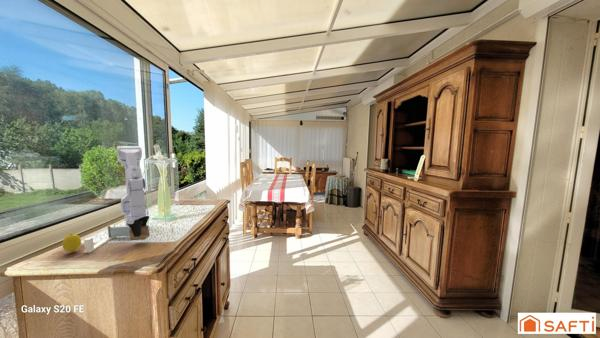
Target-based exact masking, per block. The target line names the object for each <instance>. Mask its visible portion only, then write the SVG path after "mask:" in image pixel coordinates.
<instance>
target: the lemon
mask: <svg viewBox="0 0 600 338" xmlns="http://www.w3.org/2000/svg"><path fill="white" fill-rule="evenodd" d="M61 245H62V249H63V250H64V251H66V252H68V253H69V252H70V253H75V252H76V251H77V250H78V249H80V247H81V246H82V240H81V237H80V235H78V234H74V233H70V234H68V235H66V236H65V237H64V238H63V239H62V243H61Z"/></svg>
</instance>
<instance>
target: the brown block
mask: <svg viewBox="0 0 600 338" xmlns="http://www.w3.org/2000/svg"><path fill="white" fill-rule="evenodd" d="M149 237H150V227H149V225H146V226H141V234H140V236H139V237H134V235H133V232H132V230H131V229H130V236H129V240H130V241H142V240H147V239H148V238H149Z"/></svg>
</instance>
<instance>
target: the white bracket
mask: <svg viewBox="0 0 600 338" xmlns="http://www.w3.org/2000/svg"><path fill="white" fill-rule="evenodd" d="M109 226H110V227H116V225H113V224H111V225H109ZM114 238H115V237H109V236H107V237H105V238H103V239H102V240H100V241H98V242H97V243H94V237H87V238H85V239H84V240H83V244H84V251H83V253H84V254H89V253H92V252H93V251H95V250H97V249H98V248H100V247H102V246H103V245H104V244H107V243H108V242H109V241H111V240H112V239H114Z"/></svg>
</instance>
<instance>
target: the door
mask: <svg viewBox="0 0 600 338" xmlns="http://www.w3.org/2000/svg"><path fill="white" fill-rule="evenodd" d="M130 229H131V228H130V227H129V226H126V225H124V226H122V225H121V226H115V227H110V225H108V226H107V235H108V236H109V237H114V238H116V237H130ZM108 236H107V237H108Z"/></svg>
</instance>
